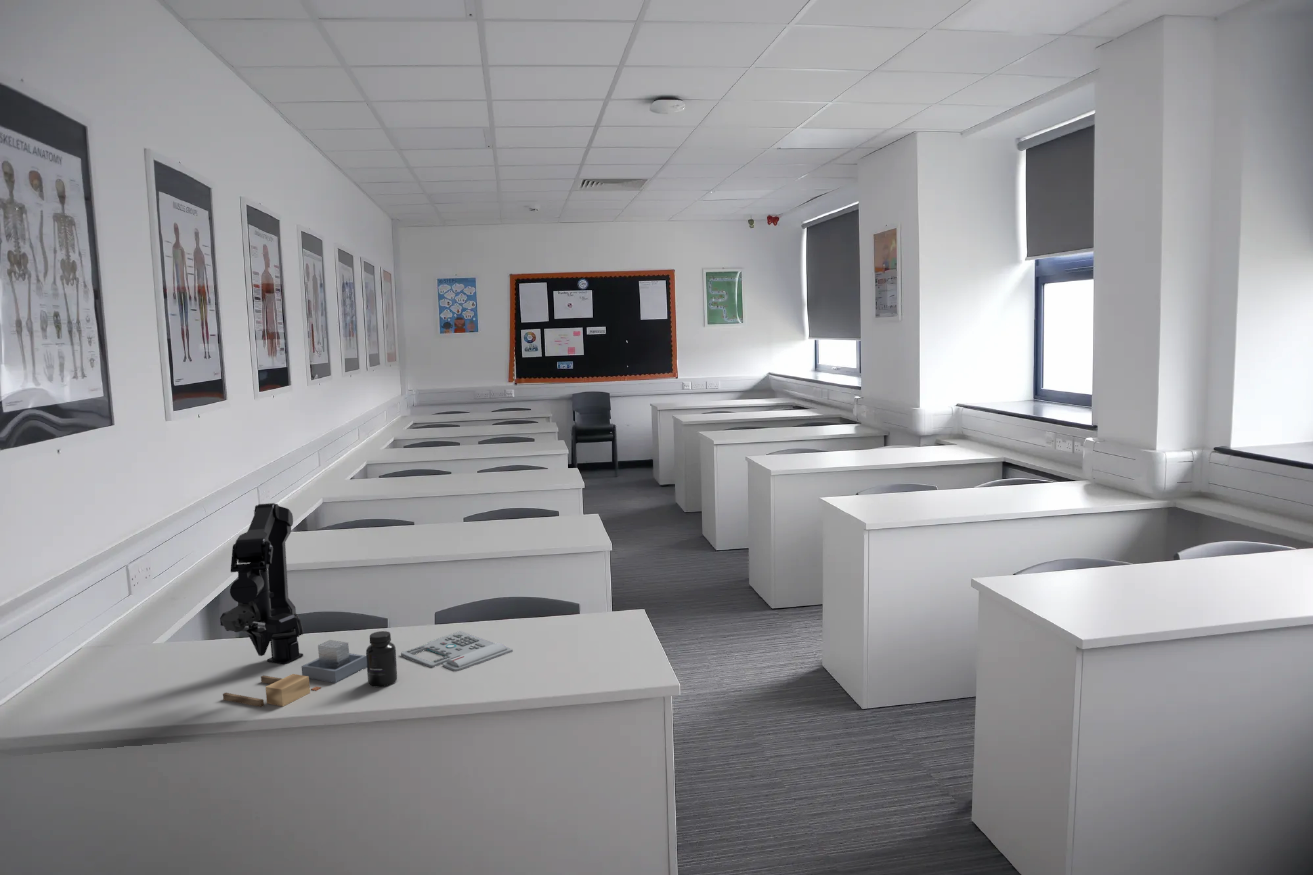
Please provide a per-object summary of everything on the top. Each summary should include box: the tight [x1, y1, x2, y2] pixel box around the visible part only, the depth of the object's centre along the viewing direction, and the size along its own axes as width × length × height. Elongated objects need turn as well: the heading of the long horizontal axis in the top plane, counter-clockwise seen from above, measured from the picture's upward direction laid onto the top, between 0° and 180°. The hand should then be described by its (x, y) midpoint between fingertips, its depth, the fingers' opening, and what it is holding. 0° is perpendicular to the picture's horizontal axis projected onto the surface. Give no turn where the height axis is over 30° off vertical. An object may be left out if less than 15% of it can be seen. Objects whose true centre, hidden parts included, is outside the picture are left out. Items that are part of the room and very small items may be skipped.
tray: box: [300, 652, 367, 684], centre depth 214 cm, size 11×11×3 cm
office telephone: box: [400, 630, 513, 672], centre depth 224 cm, size 23×3×20 cm
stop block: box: [317, 639, 350, 670], centre depth 213 cm, size 6×4×7 cm, turn 66°
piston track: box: [222, 674, 322, 708], centre depth 201 cm, size 17×13×2 cm
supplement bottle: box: [365, 630, 398, 688], centre depth 206 cm, size 7×7×12 cm
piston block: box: [265, 673, 311, 707], centre depth 198 cm, size 5×8×4 cm, turn 157°
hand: (261, 655), depth 200 cm, fingers closed
